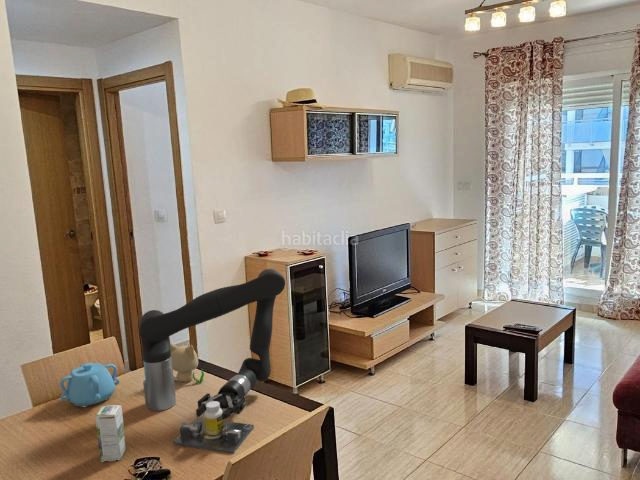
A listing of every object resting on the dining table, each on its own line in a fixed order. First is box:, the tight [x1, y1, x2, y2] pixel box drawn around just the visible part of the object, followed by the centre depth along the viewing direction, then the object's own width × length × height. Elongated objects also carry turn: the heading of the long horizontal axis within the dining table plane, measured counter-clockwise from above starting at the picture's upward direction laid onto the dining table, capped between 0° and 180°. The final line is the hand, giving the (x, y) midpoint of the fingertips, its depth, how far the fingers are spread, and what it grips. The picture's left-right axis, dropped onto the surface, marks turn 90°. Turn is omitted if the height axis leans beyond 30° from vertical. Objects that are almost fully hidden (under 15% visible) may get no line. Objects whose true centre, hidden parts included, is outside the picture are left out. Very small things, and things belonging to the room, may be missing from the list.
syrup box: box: [94, 404, 127, 462], centre depth 147 cm, size 6×6×14 cm
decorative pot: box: [59, 362, 120, 407], centre depth 183 cm, size 16×16×14 cm
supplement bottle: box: [204, 401, 224, 438], centre depth 154 cm, size 5×5×10 cm
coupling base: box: [172, 417, 255, 454], centre depth 156 cm, size 20×14×5 cm
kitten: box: [170, 342, 205, 384], centre depth 195 cm, size 15×10×15 cm
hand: (210, 415), depth 152 cm, fingers open, 8 cm apart
